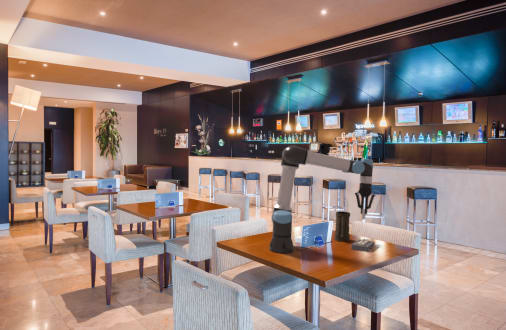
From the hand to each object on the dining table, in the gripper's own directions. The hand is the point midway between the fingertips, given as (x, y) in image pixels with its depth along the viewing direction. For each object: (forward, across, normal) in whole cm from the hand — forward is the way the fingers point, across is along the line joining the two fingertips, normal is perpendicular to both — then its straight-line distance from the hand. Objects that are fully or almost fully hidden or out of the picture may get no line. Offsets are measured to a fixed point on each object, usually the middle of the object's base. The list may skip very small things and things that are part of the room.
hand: (363, 219), depth 228 cm
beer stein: (+19, -16, +11) cm, 27 cm away
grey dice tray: (+19, +1, 0) cm, 19 cm away
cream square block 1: (+17, +1, -5) cm, 18 cm away
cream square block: (+17, +1, 0) cm, 17 cm away
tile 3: (+17, +1, +6) cm, 18 cm away
